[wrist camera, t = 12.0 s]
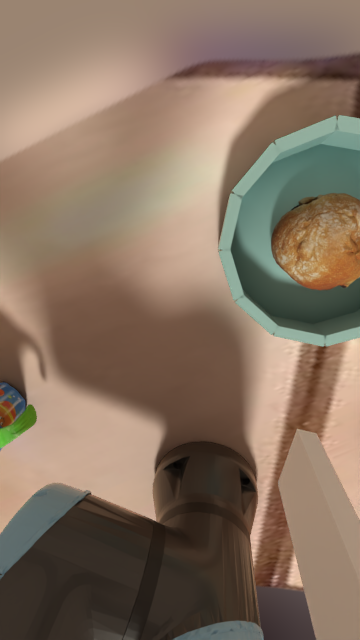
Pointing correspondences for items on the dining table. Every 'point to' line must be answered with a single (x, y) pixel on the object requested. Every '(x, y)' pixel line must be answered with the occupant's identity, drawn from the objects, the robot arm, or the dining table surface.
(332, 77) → the dining table surface
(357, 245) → the bread roll
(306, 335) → the bowl
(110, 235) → the dining table surface
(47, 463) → the dining table surface
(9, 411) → the snack cup
